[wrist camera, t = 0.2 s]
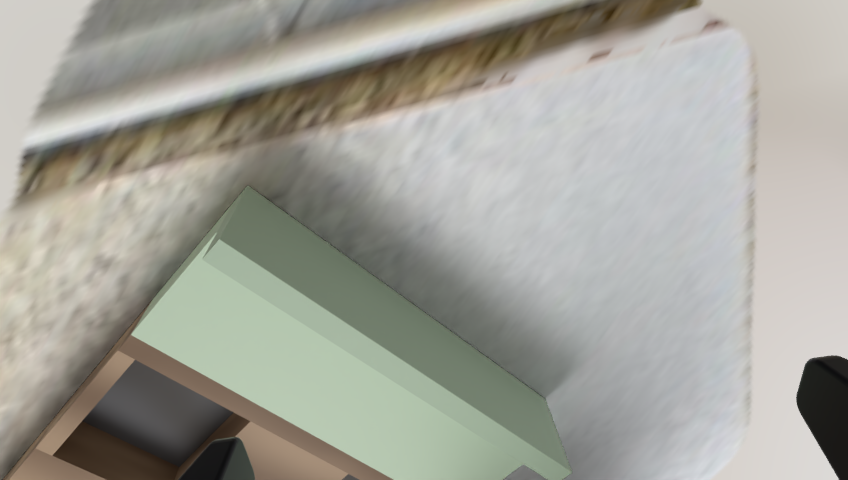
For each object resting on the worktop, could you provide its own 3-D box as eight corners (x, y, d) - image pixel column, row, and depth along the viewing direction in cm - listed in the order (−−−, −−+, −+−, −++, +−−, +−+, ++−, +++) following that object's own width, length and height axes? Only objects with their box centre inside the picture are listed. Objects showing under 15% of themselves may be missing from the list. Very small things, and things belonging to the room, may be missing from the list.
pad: (450, 473, 31) (461, 551, 27) (153, 298, 24) (109, 369, 20) (545, 398, 29) (572, 472, 25) (247, 185, 22) (219, 239, 18)
